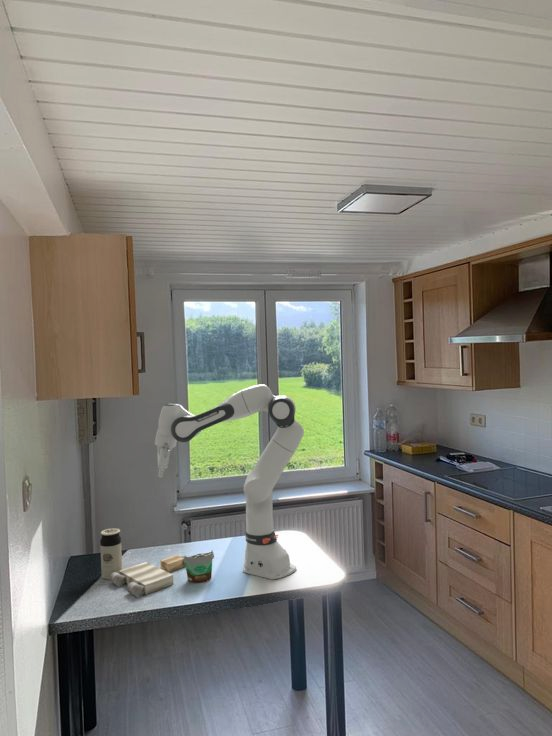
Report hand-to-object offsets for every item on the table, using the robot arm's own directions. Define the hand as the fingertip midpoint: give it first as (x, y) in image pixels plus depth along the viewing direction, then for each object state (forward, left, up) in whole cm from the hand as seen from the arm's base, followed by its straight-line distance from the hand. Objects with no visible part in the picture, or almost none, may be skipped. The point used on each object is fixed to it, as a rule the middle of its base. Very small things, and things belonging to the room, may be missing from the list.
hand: (159, 473), depth 213 cm
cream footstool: (-8, +15, -39) cm, 42 cm away
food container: (-24, -2, -39) cm, 46 cm away
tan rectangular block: (-4, -3, -39) cm, 39 cm away
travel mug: (+8, +19, -39) cm, 44 cm away
